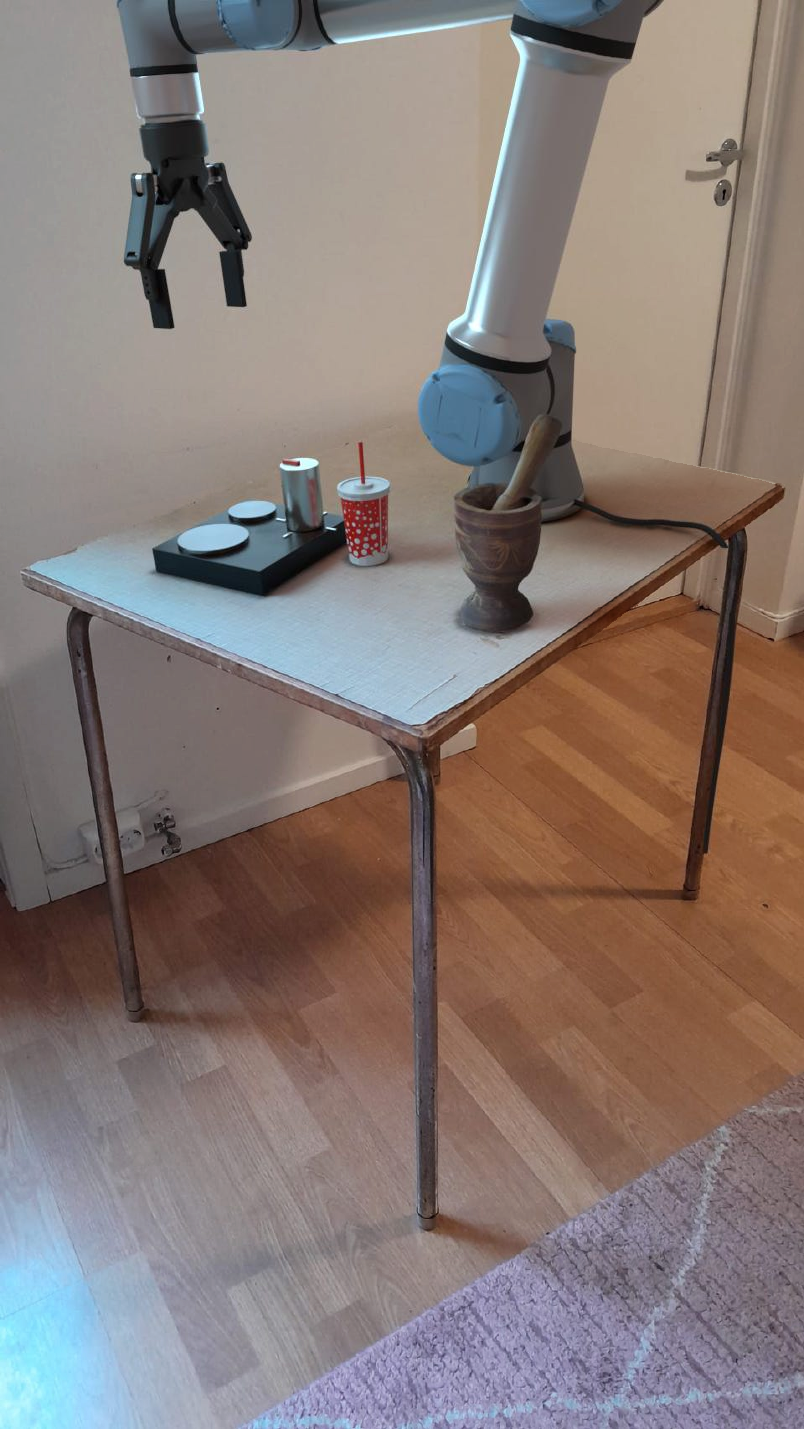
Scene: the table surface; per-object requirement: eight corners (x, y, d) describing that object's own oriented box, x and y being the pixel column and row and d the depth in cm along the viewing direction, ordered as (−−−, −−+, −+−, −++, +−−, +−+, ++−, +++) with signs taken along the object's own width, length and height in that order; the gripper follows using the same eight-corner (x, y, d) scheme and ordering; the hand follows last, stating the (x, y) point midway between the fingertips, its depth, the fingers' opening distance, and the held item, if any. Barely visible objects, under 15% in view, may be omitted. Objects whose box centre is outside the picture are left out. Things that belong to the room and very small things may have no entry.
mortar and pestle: (497, 583, 116) (497, 402, 106) (567, 599, 112) (574, 412, 101) (441, 624, 108) (435, 432, 98) (514, 643, 104) (516, 444, 93)
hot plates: (303, 512, 130) (303, 507, 129) (218, 560, 118) (217, 555, 118) (248, 502, 134) (247, 498, 133) (160, 548, 122) (160, 543, 122)
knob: (332, 521, 126) (326, 458, 122) (310, 534, 123) (303, 469, 119) (301, 515, 129) (294, 453, 125) (278, 528, 125) (271, 465, 121)
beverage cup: (372, 544, 128) (364, 430, 120) (404, 557, 123) (398, 440, 116) (332, 558, 124) (322, 442, 117) (364, 573, 120) (355, 453, 113)
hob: (358, 541, 129) (356, 516, 127) (269, 597, 116) (266, 571, 114) (250, 521, 136) (247, 497, 135) (156, 572, 124) (151, 547, 122)
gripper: (217, 115, 129) (242, 297, 140) (65, 129, 111) (107, 336, 122) (265, 112, 125) (286, 299, 136) (115, 125, 107) (154, 339, 118)
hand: (201, 317), depth 129 cm, fingers open, 13 cm apart
